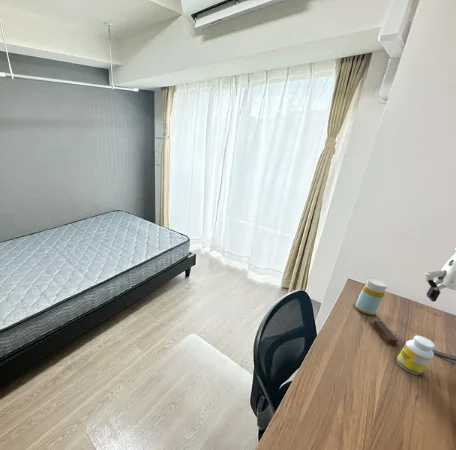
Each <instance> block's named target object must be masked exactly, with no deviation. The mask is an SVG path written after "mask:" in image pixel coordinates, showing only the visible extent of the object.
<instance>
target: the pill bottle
mask: <svg viewBox="0 0 456 450" xmlns="http://www.w3.org/2000/svg"><path fill="white" fill-rule="evenodd" d="M435 347H436V345H435V343H434V342H433V341H431V340H430V339H429V338H427V337H424V336H422V335H414V337H413V338H412V339H410V340H407V341H406V342H405V344H404V346H403V348H402V349H401V351H400V352H399V354H398V356H397V358H396V361H397V363H398V365H399V366H400V367H401V368H402V369H404V370H405V371H407V372H409V373H411V374H414V375H422V374H423V373H424V371H425V370H426V369H427V367H428V365H429V364H430V363H431V362H432V360H433V358H434V357H435V353H434V349H435Z"/></svg>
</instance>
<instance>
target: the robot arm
mask: <svg viewBox="0 0 456 450" xmlns="http://www.w3.org/2000/svg"><path fill="white" fill-rule="evenodd" d="M454 252H455V253H454V254H453V255H452V256H451V257H450V258H449V259H448V260H447V262H446V263H445V264H444V266H443V267H442V269H441V270H437V271H429V272H425V273H424V276H425V281H426V282H427V283H428V285H429V286H430V287H429V288H428V290H427V292H426V297H427V298H428V299H429V300H430V302H436V301H437V300H438V298H439V296H440V294H441V290H443V289H445V288H447V289H450V290H453V291H456V247H455V248H454ZM435 278H437V279H436V280H434V279H435Z"/></svg>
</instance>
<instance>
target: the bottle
mask: <svg viewBox="0 0 456 450" xmlns="http://www.w3.org/2000/svg"><path fill="white" fill-rule="evenodd" d="M387 287H388V284H387V283H386V282H385V281H383V280H381V279H378V278H375V277H369V278H367V281H366V284H365V285H364V286H363V287H362V289H361V291H360V293H359V296H358V298H357V300H356V302H355V305H354V306H355V309H356V310H357V311H358V312H360V313H361V314H364V315H367V316H373V315H375V314H376V312H377V311H378V308H379V306H380V304H381V302H382V300H383V298H384V296H385V291H386V289H387Z"/></svg>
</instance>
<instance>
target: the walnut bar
mask: <svg viewBox="0 0 456 450" xmlns="http://www.w3.org/2000/svg"><path fill="white" fill-rule="evenodd" d="M372 325H373V327H374V328H375V330H376V331H377V332H378V333H379V335H380V336H381V338H382V339H383V340H384V341H385V343H387V344H386V345H392V346H396V345H397V343H398V342H399V340H398V339H397V338H396V336H395V335H394V333H393V332H392V331H391V330H390V329H389V328H388V326H387V325H386V324H385V323H384V322H383V321H382V320H379V319H374V321H373V323H372Z"/></svg>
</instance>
